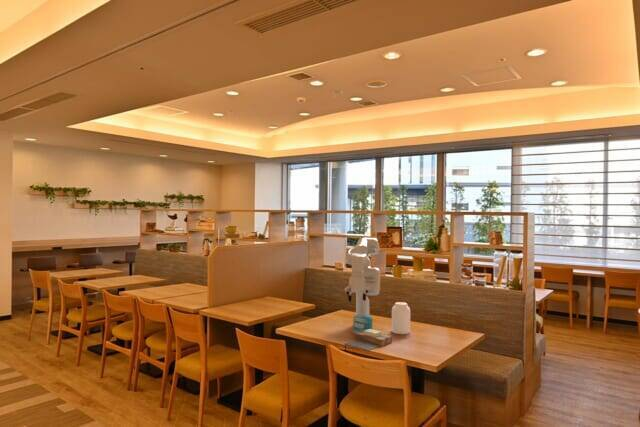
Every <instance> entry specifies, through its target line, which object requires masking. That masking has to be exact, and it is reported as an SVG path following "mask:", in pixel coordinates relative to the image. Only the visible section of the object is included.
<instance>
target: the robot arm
mask: <svg viewBox="0 0 640 427" xmlns="http://www.w3.org/2000/svg"><path fill="white" fill-rule="evenodd" d="M379 253H380V243H379V241H378V239H377V238H376V237H360V238H359V239H358V240H357V243H356V245H355V246H354V247H352V248H350V249H349V250H348V251H347V254H346V258H345V260H346V261H345V262H346V264H347V265H349V266H351V275H350V276H349V282H348V285H347V286H346V287H344V291H345V293H346V294H347V300H348V302H352V298H353V297H352V294H353V293H355V296H356V298H355V301H356V302H355V316H356V315H364V316H370V299H369V297H368V296H378V295H380V290H381V270H380V269H379V268H378V267H371V263H372V262H371V259H370V257H368V255H372V256H373V255H376V256H377V255H379Z"/></svg>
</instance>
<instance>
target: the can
mask: <svg viewBox="0 0 640 427" xmlns="http://www.w3.org/2000/svg"><path fill="white" fill-rule="evenodd" d="M390 329H391V332H392V333H393V334H397V335H408V334H410V333H411V308H410V306H408V303H407V302H405V301H397V302H395V303H394V305H393V306H392V308H391V328H390Z"/></svg>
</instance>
